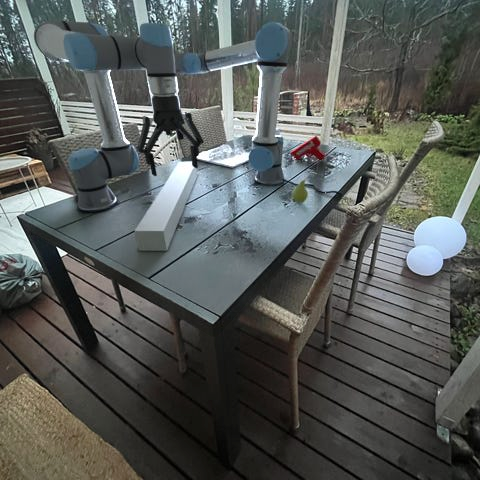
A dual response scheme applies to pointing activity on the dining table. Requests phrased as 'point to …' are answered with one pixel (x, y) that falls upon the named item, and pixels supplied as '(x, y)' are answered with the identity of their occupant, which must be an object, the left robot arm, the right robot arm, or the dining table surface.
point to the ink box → (277, 132)
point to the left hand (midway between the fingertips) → (175, 170)
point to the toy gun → (309, 149)
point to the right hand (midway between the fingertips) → (174, 137)
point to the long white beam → (166, 210)
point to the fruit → (300, 192)
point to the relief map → (224, 156)
